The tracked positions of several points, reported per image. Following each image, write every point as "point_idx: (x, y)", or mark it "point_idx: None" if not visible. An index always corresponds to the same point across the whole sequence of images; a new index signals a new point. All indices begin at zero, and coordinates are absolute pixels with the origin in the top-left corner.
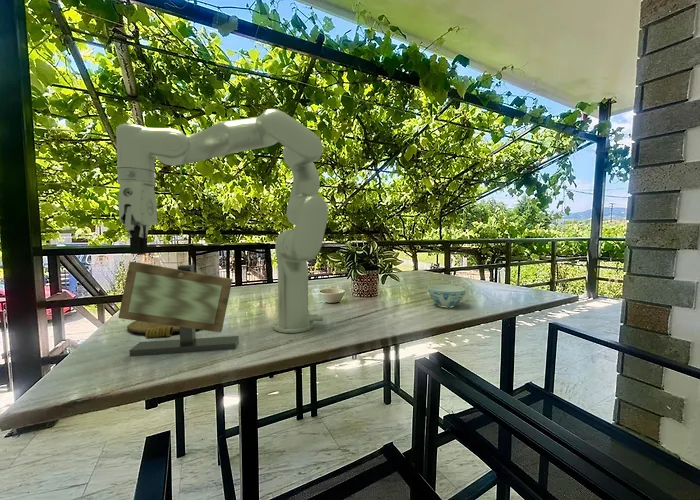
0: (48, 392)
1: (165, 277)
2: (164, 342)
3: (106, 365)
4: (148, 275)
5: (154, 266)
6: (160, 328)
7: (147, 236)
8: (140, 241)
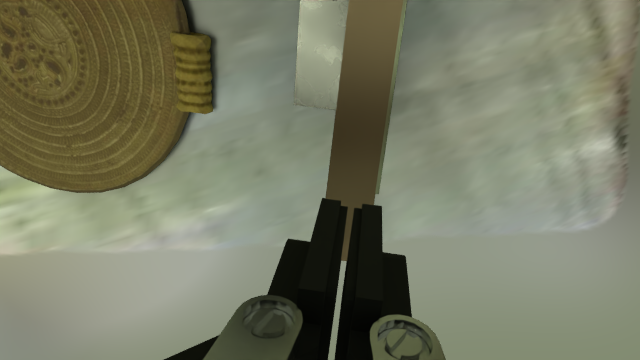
0: (541, 205)
1: (405, 8)
2: (321, 24)
3: (418, 144)
4: (389, 119)
5: (388, 98)
6: (193, 70)
7: (249, 301)
8: (386, 303)
